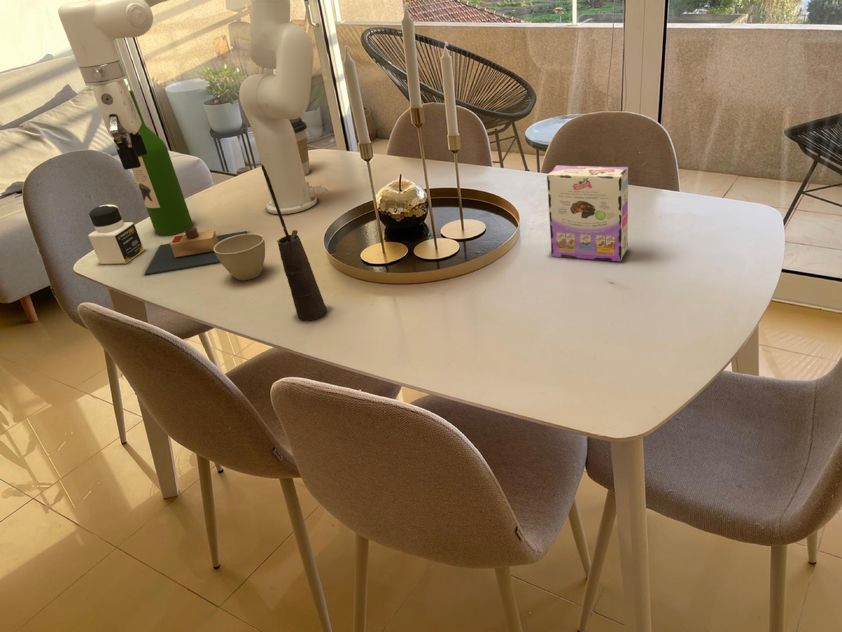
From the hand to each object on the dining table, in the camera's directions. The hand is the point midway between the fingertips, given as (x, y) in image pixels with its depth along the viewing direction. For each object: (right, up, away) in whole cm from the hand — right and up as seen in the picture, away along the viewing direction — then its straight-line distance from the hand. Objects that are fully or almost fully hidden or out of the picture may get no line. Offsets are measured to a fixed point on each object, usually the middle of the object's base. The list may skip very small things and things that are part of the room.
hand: (136, 161), depth 141 cm
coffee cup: (+19, +12, +57) cm, 62 cm away
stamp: (+7, -16, +14) cm, 23 cm away
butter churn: (+40, -31, -15) cm, 53 cm away
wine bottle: (-5, -9, +30) cm, 31 cm away
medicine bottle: (-11, -17, +17) cm, 27 cm away
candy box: (+91, -20, -8) cm, 93 cm away
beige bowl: (+23, -23, +1) cm, 32 cm away
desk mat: (+7, -17, +14) cm, 23 cm away
